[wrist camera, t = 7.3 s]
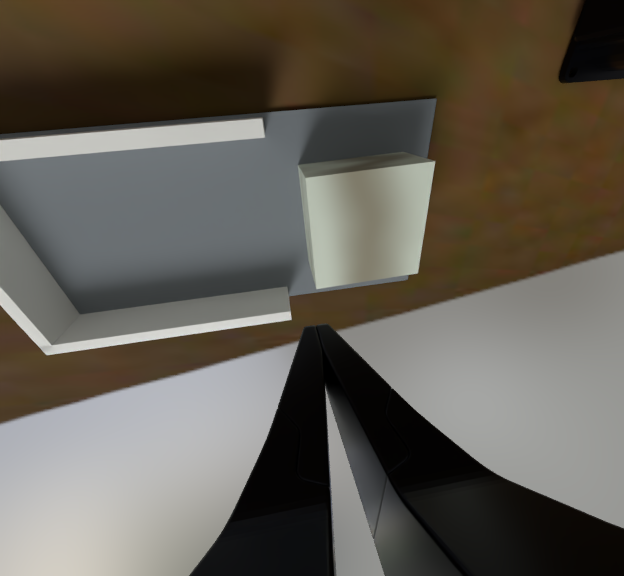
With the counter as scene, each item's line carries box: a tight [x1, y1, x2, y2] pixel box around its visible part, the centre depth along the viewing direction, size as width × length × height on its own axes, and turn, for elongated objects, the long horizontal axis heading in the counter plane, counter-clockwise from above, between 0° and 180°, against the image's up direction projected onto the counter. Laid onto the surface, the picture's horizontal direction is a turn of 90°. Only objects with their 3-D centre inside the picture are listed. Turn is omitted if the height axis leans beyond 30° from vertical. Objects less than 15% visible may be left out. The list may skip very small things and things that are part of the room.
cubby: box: [0, 117, 292, 355], centre depth 17 cm, size 17×13×4 cm
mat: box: [0, 99, 437, 314], centre depth 19 cm, size 29×13×1 cm, turn 94°
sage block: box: [298, 152, 435, 289], centre depth 18 cm, size 7×7×4 cm
